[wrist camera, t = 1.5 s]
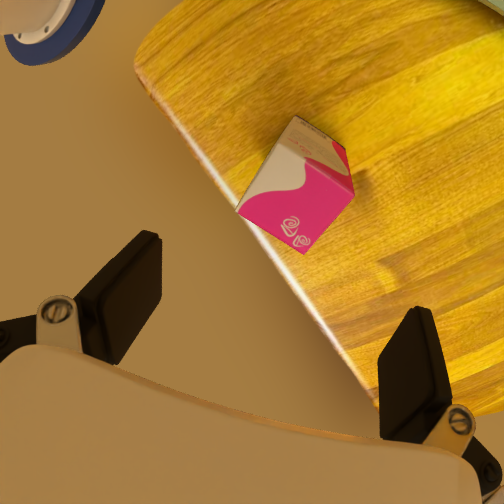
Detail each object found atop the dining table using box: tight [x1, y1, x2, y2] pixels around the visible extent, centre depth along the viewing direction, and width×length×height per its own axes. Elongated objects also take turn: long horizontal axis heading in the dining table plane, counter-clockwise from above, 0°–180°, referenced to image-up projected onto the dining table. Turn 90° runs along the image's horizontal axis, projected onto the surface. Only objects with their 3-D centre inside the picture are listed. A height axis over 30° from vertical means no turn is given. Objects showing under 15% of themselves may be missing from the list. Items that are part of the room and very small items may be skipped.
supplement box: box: [235, 115, 355, 255], centre depth 24 cm, size 6×6×12 cm
